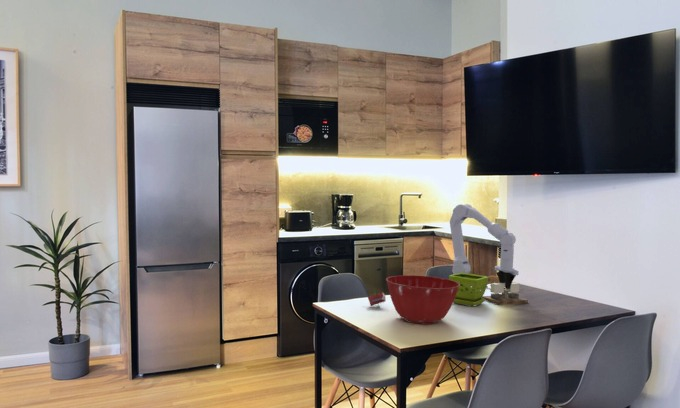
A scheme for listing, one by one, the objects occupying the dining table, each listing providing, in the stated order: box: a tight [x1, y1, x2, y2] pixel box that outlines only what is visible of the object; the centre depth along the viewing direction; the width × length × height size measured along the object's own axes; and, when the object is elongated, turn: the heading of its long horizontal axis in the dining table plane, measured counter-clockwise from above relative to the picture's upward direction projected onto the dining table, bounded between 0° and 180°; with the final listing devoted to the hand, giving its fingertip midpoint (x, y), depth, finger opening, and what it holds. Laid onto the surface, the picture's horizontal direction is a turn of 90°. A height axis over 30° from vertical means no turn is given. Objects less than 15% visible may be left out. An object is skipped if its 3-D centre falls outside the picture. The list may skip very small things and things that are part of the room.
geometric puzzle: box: [367, 291, 386, 308], centre depth 236 cm, size 7×7×8 cm
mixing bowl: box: [385, 274, 460, 325], centre depth 216 cm, size 28×28×15 cm
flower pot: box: [448, 273, 489, 307], centre depth 250 cm, size 14×14×13 cm
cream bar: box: [490, 281, 520, 294], centre depth 258 cm, size 14×3×4 cm, turn 113°
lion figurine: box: [486, 271, 508, 290], centre depth 291 cm, size 15×5×9 cm, turn 105°
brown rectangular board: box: [482, 289, 529, 306], centre depth 258 cm, size 17×12×5 cm
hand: (505, 288), depth 258 cm, fingers closed on cream bar, 3 cm apart
